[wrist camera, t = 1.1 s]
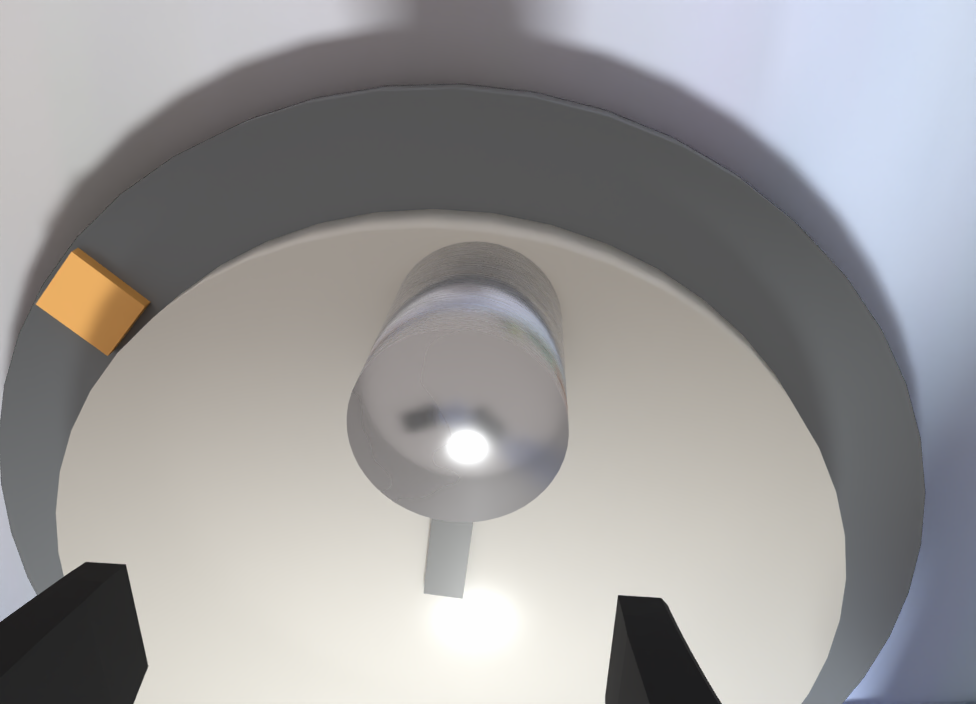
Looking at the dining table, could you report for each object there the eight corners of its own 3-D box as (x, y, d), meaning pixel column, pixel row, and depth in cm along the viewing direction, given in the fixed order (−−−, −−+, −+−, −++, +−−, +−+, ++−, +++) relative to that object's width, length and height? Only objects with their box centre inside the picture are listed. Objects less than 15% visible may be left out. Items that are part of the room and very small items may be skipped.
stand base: (902, -46, 16) (932, -48, 14) (911, 783, 26) (929, 821, 24) (-156, 213, 19) (-201, 227, 18) (214, 847, 29) (200, 882, 28)
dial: (718, 842, 26) (766, 1071, 20) (119, 759, 26) (7, 966, 20) (944, 273, 17) (1132, 408, 12) (43, 152, 17) (-187, 230, 12)
